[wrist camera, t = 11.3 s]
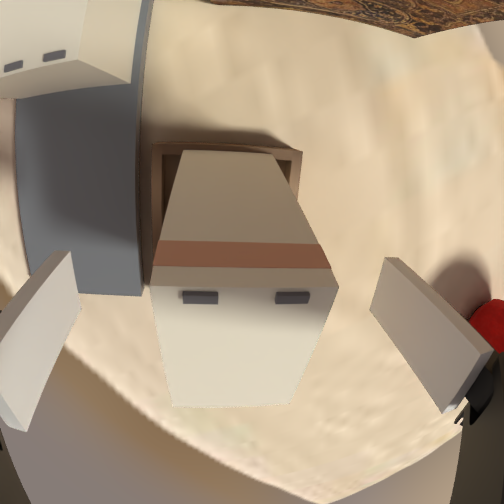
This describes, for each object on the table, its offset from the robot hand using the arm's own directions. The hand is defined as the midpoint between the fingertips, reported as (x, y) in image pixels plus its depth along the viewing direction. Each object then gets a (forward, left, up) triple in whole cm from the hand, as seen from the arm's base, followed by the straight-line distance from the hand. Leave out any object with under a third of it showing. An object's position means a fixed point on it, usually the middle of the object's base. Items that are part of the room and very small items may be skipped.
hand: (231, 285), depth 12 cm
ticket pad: (-12, -10, -8) cm, 18 cm away
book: (-18, +6, -9) cm, 21 cm away
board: (-6, -10, -9) cm, 15 cm away
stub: (-1, 0, -8) cm, 8 cm away
